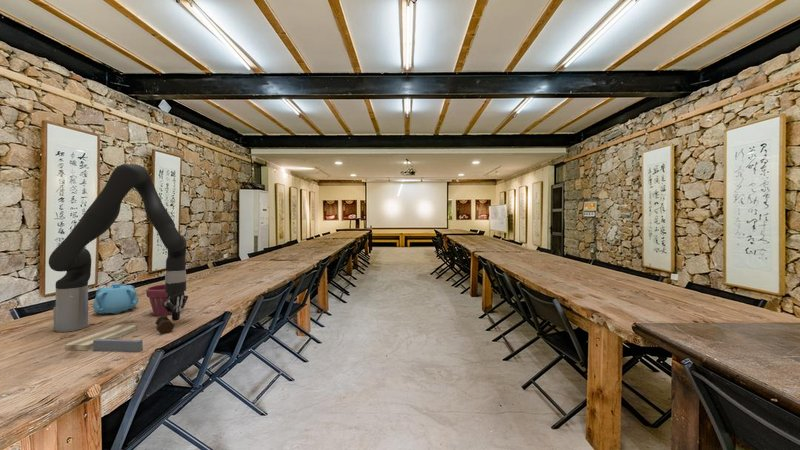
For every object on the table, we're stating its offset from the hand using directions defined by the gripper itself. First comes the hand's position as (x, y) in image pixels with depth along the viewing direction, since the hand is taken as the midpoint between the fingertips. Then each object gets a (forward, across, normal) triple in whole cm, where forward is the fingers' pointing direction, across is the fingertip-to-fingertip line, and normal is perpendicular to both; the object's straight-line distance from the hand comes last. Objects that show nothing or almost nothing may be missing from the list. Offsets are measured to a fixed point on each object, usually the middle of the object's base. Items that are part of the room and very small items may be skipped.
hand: (175, 320), depth 137 cm
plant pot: (+2, -15, -16) cm, 22 cm away
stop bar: (+2, +28, 0) cm, 28 cm away
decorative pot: (+2, -16, -41) cm, 44 cm away
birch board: (+2, +18, -14) cm, 23 cm away
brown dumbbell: (+2, +6, -1) cm, 6 cm away
